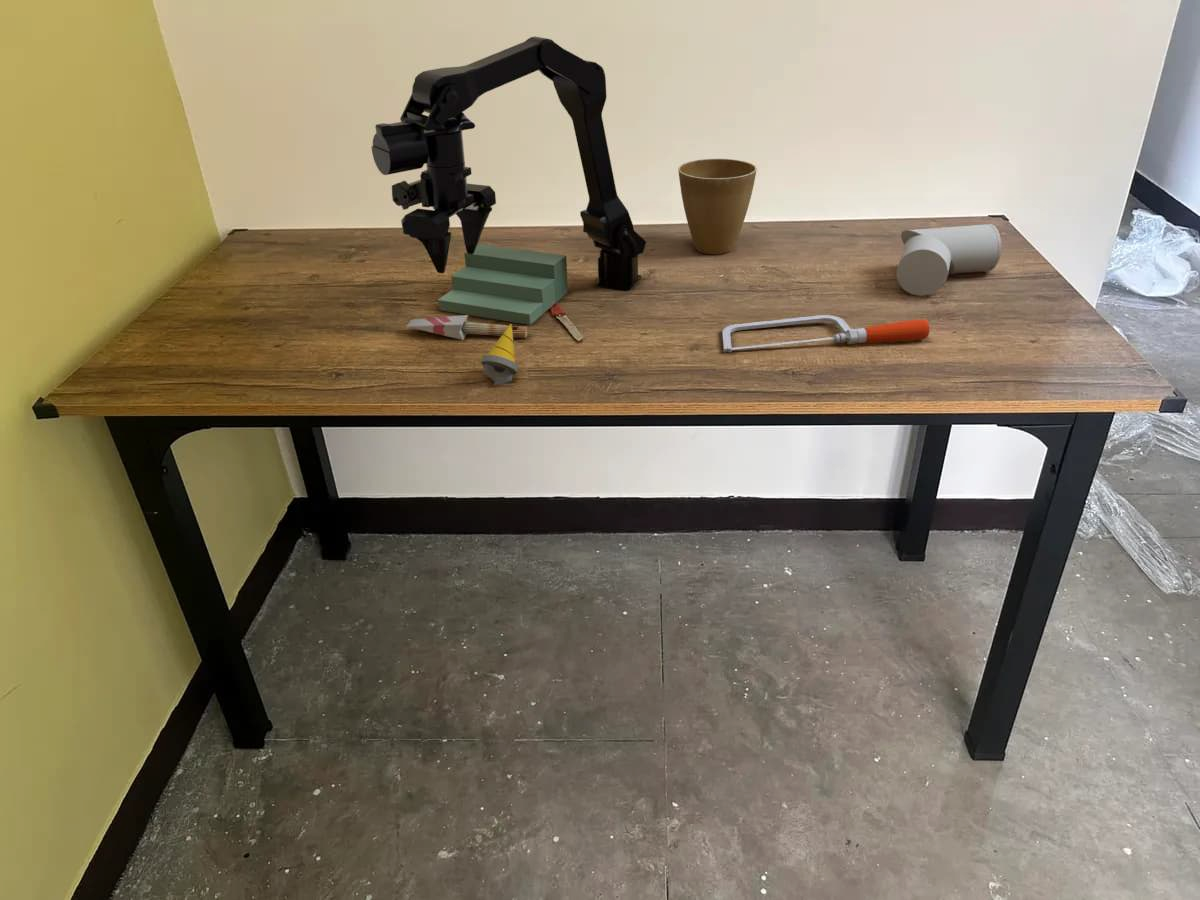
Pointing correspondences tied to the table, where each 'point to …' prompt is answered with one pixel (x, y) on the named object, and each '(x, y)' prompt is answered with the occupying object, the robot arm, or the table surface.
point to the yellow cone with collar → (501, 359)
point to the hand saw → (852, 336)
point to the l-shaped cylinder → (945, 255)
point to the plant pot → (716, 201)
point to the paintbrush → (462, 327)
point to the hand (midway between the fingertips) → (456, 262)
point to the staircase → (507, 284)
